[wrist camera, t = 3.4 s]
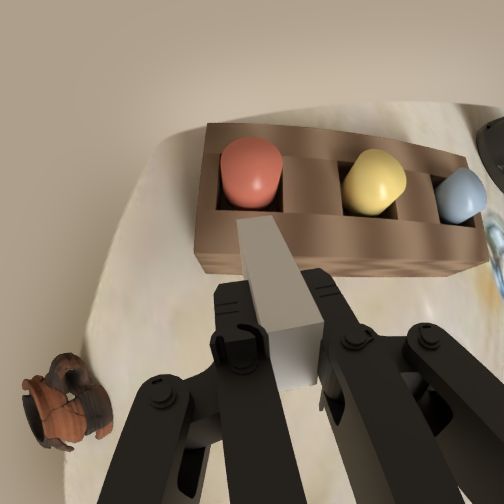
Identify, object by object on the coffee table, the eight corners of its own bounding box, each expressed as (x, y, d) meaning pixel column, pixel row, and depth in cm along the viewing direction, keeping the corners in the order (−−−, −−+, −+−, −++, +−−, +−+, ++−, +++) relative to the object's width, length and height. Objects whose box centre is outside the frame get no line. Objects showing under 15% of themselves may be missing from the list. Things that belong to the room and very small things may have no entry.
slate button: (455, 190, 26) (479, 171, 22) (464, 228, 25) (491, 213, 20) (426, 184, 26) (449, 163, 21) (434, 225, 25) (461, 208, 20)
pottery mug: (116, 455, 24) (55, 473, 17) (73, 408, 29) (19, 416, 22) (126, 369, 24) (48, 379, 17) (79, 327, 29) (16, 326, 22)
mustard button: (379, 178, 26) (400, 153, 21) (386, 221, 24) (410, 201, 20) (336, 173, 25) (352, 145, 21) (341, 218, 24) (360, 195, 20)
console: (431, 186, 33) (465, 157, 25) (446, 276, 30) (489, 261, 22) (213, 167, 32) (207, 123, 25) (205, 273, 29) (193, 252, 22)
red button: (275, 168, 25) (281, 138, 21) (276, 214, 24) (283, 189, 20) (225, 166, 25) (222, 136, 21) (222, 213, 24) (218, 187, 20)
